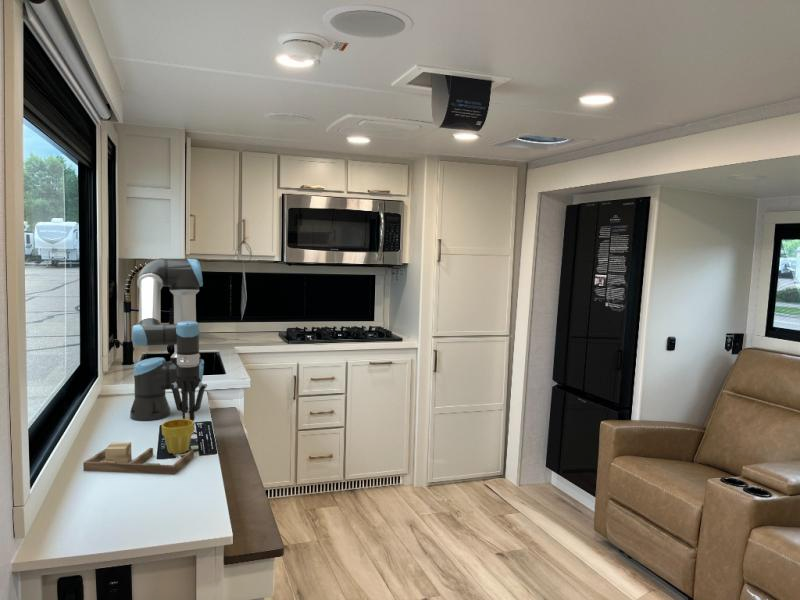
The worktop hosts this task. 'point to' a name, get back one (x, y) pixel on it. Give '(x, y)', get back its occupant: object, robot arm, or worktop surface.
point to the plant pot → (178, 435)
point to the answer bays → (135, 464)
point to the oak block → (118, 452)
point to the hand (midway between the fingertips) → (188, 429)
